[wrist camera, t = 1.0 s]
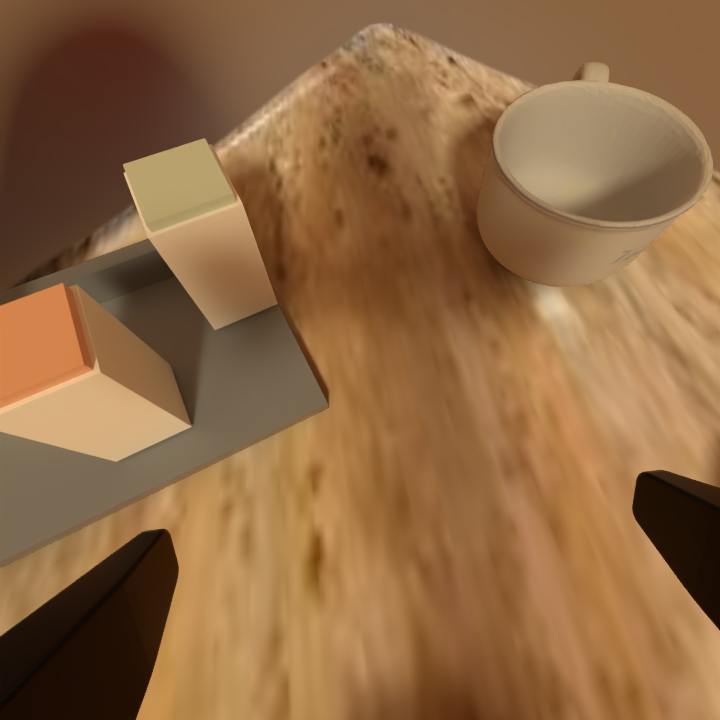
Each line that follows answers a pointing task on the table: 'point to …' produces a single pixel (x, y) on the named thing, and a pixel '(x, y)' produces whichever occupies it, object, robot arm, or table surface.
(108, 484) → the keypad board
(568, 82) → the teacup
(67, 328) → the key
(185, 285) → the beige upright block
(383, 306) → the table surface
